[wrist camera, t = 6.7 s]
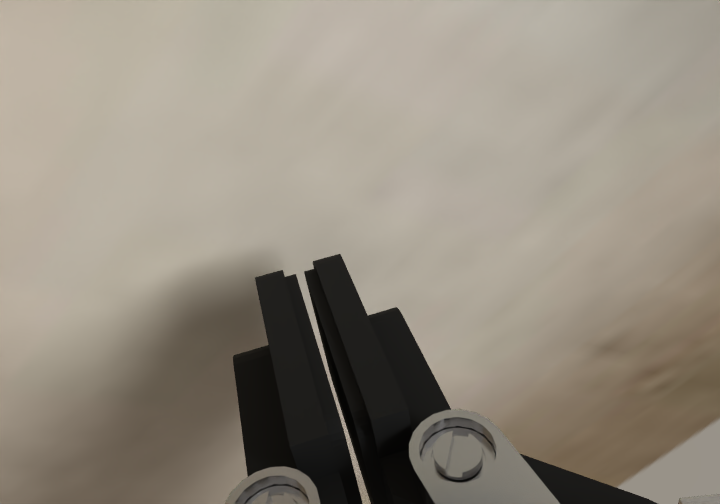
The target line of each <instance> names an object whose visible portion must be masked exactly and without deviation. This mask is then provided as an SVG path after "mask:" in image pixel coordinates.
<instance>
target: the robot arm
mask: <svg viewBox="0 0 720 504" xmlns="http://www.w3.org/2000/svg"><path fill="white" fill-rule="evenodd" d="M313 265H314V269H312V270H308V271H305V272H304V273H305V277H306V281H307V285H308V289H309V293H310V297H311V301H312V305H313V309H314V312H315V316H316V320H317V324H318V328H319V332H320V336H321V340H322V344H323V348H324V352H325V356H326V359H327V363H328V367H329V371H330V375H331V378H332V382H333V385H334V388H335V391H336V394H337V398H338V401H339V404H340V407H341V410H342V413H343V417H344V420H345V423H346V426H347V429H348V432H349V436H350V439H351V442H352V445H353V448H354V451H355V455H356V458H357V461H358V464H359V467H360V470H361V474H362V477H363V480H364V483H365V486H366V490H367V493H368V496H369V499H370V502H371V504H657V503H655V502H653V501H651V500H649V499H647V498H644V497H641V496H638V495H635V494H632V493H630V492H627V491H624V490H621V489H618V488H615V487H613V486H610V485H607V484H604V483H601V482H598V481H596V480H593V479H590V478H587V477H584V476H581V475H579V474H576V473H573V472H570V471H567V470H564V469H562V468H559V467H556V466H553V465H550V464H547V463H544V462H542V461H539V460H536V459H533V458H530V457H527V456H525V455H522V454H519V453H518V451H517V450H516V449H515V448H514V446H513V445H512V444H511V443H510V441H509V440H508V439H507V438H506V437H505V435H504V434H503V433H502V432H501V430H500V429H499V428H498V427H497V426H496V425H495V424H494V423H492V422H491V421H490V420H489V419H488V418H486V417H484V416H482V415H480V414H478V413H476V412H472V411H467V410H462V409H457V410H451V408H450V406H449V404H448V402H447V401H446V399H445V397H444V395H443V393H442V391H441V389H440V387H439V385H438V383H437V381H436V379H435V377H434V375H433V374H432V372H431V370H430V368H429V366H428V364H427V362H426V360H425V358H424V356H423V354H422V352H421V350H420V348H419V346H418V345H417V343H416V341H415V339H414V337H413V335H412V333H411V331H410V329H409V327H408V325H407V323H406V321H405V319H404V318H403V316H402V314H401V312H400V311H399V309H398V308H397V307H396V308H392V309H389V310H386V311H382V312H379V313H375V314H372V315H369V316H368V315H367V313H366V311H365V309H364V306H363V304H362V302H361V300H360V297H359V295H358V293H357V290H356V288H355V286H354V284H353V281H352V279H351V277H350V275H349V272H348V270H347V268H346V265H345V263H344V261H343V259H342V257H341V255H340V254H338V255H334V256H331V257H327V258H323V259H320V260H316V261H313ZM255 280H256V285H257V290H258V295H259V300H260V305H261V309H262V314H263V319H264V324H265V329H266V334H267V338H268V343H269V345H268V346H264V347H261V348H257V349H254V350H251V351H247V352H244V353H241V354H237V355H234V357H233V363H234V372H235V379H236V387H237V395H238V403H239V411H240V419H241V426H242V434H243V442H244V450H245V458H246V466H247V473H248V477H247V478H246V479H244V480H242V481H241V482H240V483H239V484H238V486H237V487H236V488H235V489H234V490H233V491H232V492H231V493H230V495H229V497H228V498H227V500H226V502H225V504H362V500H361V496H360V492H359V488H358V484H357V480H356V476H355V473H354V469H353V465H352V461H351V457H350V453H349V449H348V445H347V442H346V438H345V434H344V431H343V427H342V424H341V420H340V417H339V413H338V410H337V407H336V404H335V400H334V397H333V394H332V391H331V387H330V384H329V381H328V378H327V374H326V371H325V368H324V365H323V361H322V358H321V355H320V352H319V348H318V345H317V342H316V339H315V335H314V332H313V329H312V326H311V322H310V319H309V316H308V313H307V310H306V306H305V303H304V300H303V297H302V293H301V290H300V287H299V284H298V280H297V277H296V274H294V275H291V276H287V277H284V273H283V270H281V271H277V272H273V273H270V274H266V275H263V276H259V277H256V278H255ZM678 504H720V494H717V495H707V496H697V497H688V498H680V499H679V503H678Z"/></svg>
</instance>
